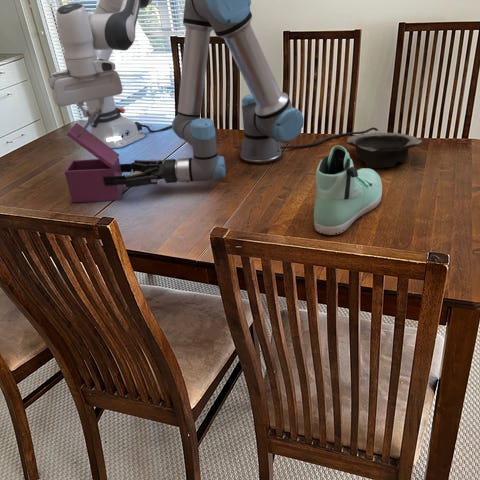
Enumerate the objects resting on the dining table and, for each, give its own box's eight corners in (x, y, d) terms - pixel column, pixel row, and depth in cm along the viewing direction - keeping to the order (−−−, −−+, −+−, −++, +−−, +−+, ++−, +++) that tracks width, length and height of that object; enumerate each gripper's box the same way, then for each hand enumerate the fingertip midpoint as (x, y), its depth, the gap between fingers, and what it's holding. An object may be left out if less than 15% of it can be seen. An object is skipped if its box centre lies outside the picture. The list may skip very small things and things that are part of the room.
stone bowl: (379, 179, 153) (379, 151, 149) (331, 161, 173) (330, 135, 169) (436, 160, 162) (438, 133, 158) (384, 144, 182) (385, 120, 178)
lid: (66, 135, 143) (82, 113, 139) (74, 125, 150) (90, 104, 147) (111, 168, 149) (128, 148, 145) (117, 157, 156) (133, 137, 153)
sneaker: (389, 187, 148) (396, 123, 138) (356, 242, 123) (361, 168, 112) (346, 181, 154) (350, 119, 144) (306, 232, 129) (307, 161, 118)
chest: (72, 202, 155) (64, 171, 149) (79, 190, 163) (72, 160, 157) (119, 199, 155) (113, 169, 149) (124, 187, 162) (118, 157, 157)
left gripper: (50, 75, 130) (63, 125, 137) (119, 62, 140) (128, 109, 147) (43, 72, 135) (56, 120, 142) (111, 60, 145) (120, 106, 152)
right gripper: (174, 196, 147) (102, 200, 148) (182, 168, 165) (118, 172, 166) (171, 173, 143) (96, 178, 144) (179, 147, 161) (113, 151, 162)
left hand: (93, 115), depth 145 cm, fingers closed on lid, 3 cm apart
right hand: (108, 174), depth 155 cm, fingers closed on chest, 9 cm apart
